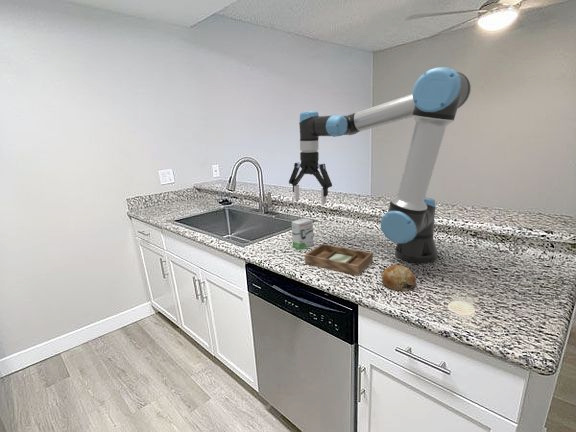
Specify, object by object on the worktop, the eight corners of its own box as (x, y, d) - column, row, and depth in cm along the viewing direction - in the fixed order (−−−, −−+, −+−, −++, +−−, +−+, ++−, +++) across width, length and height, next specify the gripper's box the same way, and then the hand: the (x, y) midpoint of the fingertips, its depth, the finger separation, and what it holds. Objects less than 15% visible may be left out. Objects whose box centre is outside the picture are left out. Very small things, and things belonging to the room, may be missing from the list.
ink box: (299, 249, 131) (298, 223, 128) (292, 247, 135) (290, 221, 132) (314, 244, 136) (313, 219, 133) (306, 242, 140) (305, 217, 137)
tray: (372, 261, 115) (372, 252, 114) (358, 275, 105) (358, 266, 104) (322, 251, 128) (322, 243, 127) (305, 263, 117) (304, 255, 116)
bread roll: (392, 302, 94) (400, 285, 89) (372, 277, 101) (379, 261, 96) (416, 294, 98) (426, 278, 93) (396, 271, 105) (404, 254, 100)
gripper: (341, 151, 120) (340, 203, 126) (290, 150, 134) (291, 196, 140) (331, 152, 114) (331, 207, 120) (279, 151, 128) (281, 200, 134)
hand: (309, 201), depth 130 cm, fingers open, 13 cm apart
